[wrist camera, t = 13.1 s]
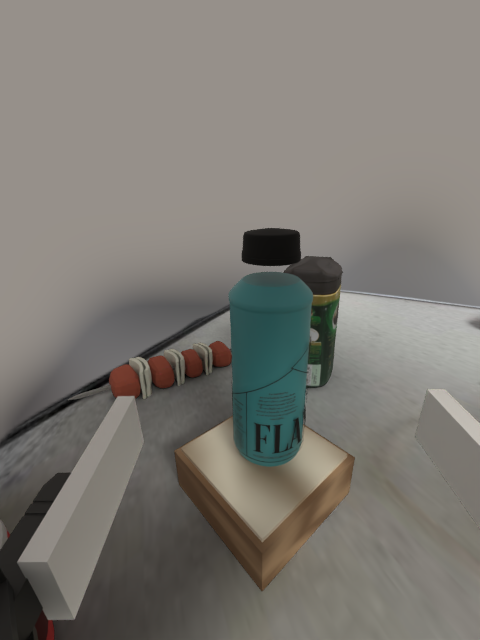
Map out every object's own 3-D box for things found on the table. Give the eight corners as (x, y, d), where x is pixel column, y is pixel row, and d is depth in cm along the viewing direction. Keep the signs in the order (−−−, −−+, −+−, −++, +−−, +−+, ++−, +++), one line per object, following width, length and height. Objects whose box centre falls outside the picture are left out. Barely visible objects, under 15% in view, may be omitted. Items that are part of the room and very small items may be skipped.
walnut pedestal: (262, 427, 38) (262, 394, 36) (348, 492, 30) (355, 454, 28) (179, 484, 31) (173, 447, 29) (262, 591, 22) (262, 550, 20)
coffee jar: (289, 354, 55) (294, 251, 47) (334, 362, 52) (347, 254, 44) (273, 383, 46) (276, 264, 39) (326, 395, 44) (339, 269, 36)
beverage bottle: (246, 492, 24) (242, 237, 17) (223, 434, 30) (213, 226, 22) (316, 469, 26) (343, 231, 18) (283, 419, 32) (292, 222, 24)
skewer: (260, 337, 52) (65, 395, 37) (259, 361, 54) (73, 424, 39) (243, 327, 56) (62, 375, 42) (243, 349, 58) (69, 403, 43)
